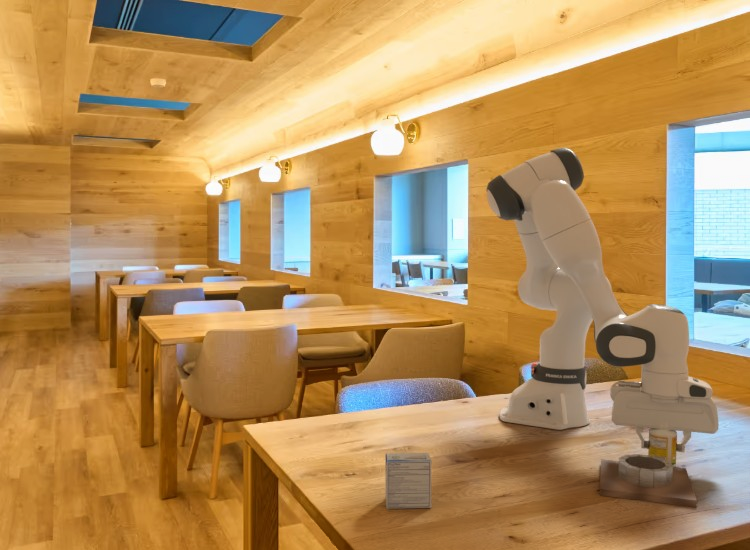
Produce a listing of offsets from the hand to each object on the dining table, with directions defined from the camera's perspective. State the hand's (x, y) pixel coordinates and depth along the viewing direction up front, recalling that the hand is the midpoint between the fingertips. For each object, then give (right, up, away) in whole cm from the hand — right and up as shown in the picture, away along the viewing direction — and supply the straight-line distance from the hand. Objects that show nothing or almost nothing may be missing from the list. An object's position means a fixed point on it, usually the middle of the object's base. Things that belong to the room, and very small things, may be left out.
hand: (662, 449), depth 137 cm
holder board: (-8, -4, -11) cm, 14 cm away
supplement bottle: (0, -3, 0) cm, 3 cm away
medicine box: (-54, -5, -20) cm, 58 cm away
